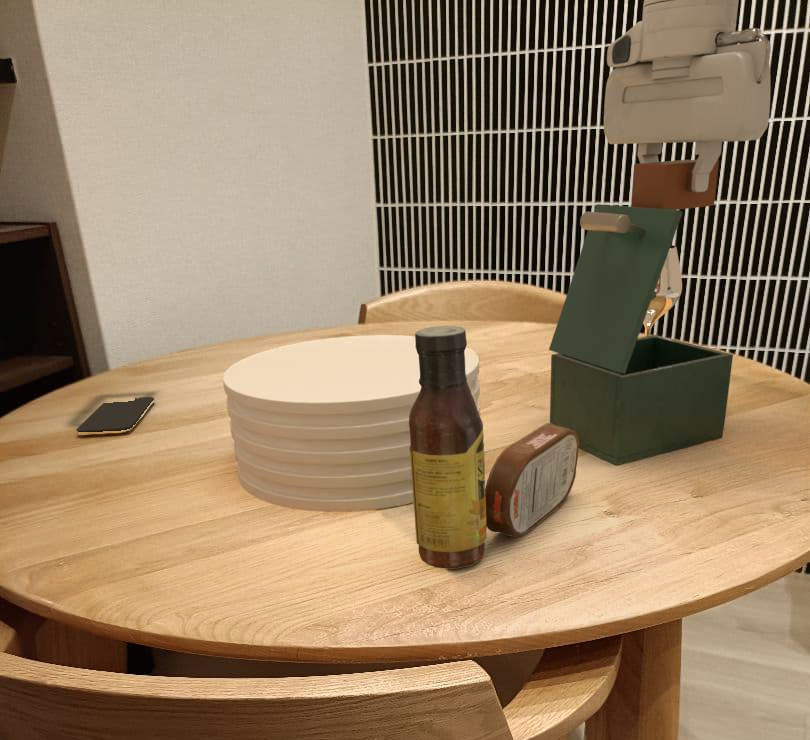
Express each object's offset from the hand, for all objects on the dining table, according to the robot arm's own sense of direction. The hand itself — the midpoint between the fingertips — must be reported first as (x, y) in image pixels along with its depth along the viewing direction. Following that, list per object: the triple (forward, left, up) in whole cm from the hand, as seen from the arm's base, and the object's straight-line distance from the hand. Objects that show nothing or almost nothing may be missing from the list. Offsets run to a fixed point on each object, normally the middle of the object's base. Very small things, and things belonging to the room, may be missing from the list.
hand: (673, 190), depth 87 cm
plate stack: (+34, -11, -27) cm, 45 cm away
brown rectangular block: (0, 0, -2) cm, 2 cm away
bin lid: (+7, 0, -9) cm, 12 cm away
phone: (+56, -46, -27) cm, 77 cm away
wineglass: (-15, -19, -27) cm, 36 cm away
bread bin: (+3, 0, -27) cm, 27 cm away
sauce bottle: (+36, +15, -27) cm, 48 cm away
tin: (+26, +13, -27) cm, 40 cm away
